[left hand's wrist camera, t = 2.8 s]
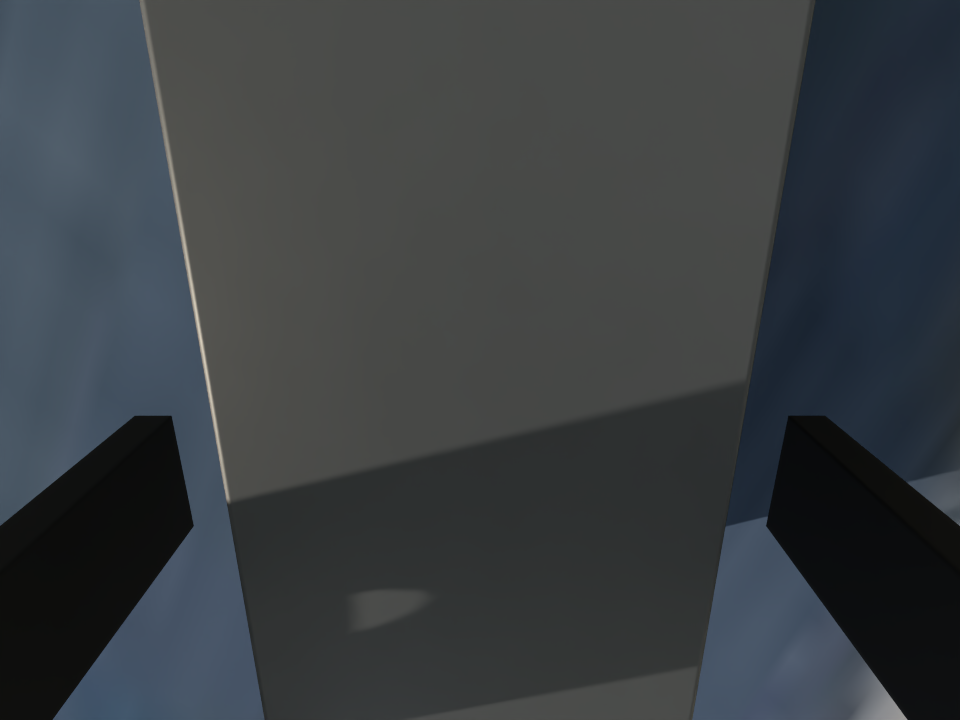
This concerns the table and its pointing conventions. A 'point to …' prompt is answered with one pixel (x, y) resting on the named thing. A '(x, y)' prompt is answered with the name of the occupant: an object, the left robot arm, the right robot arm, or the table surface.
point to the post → (477, 332)
